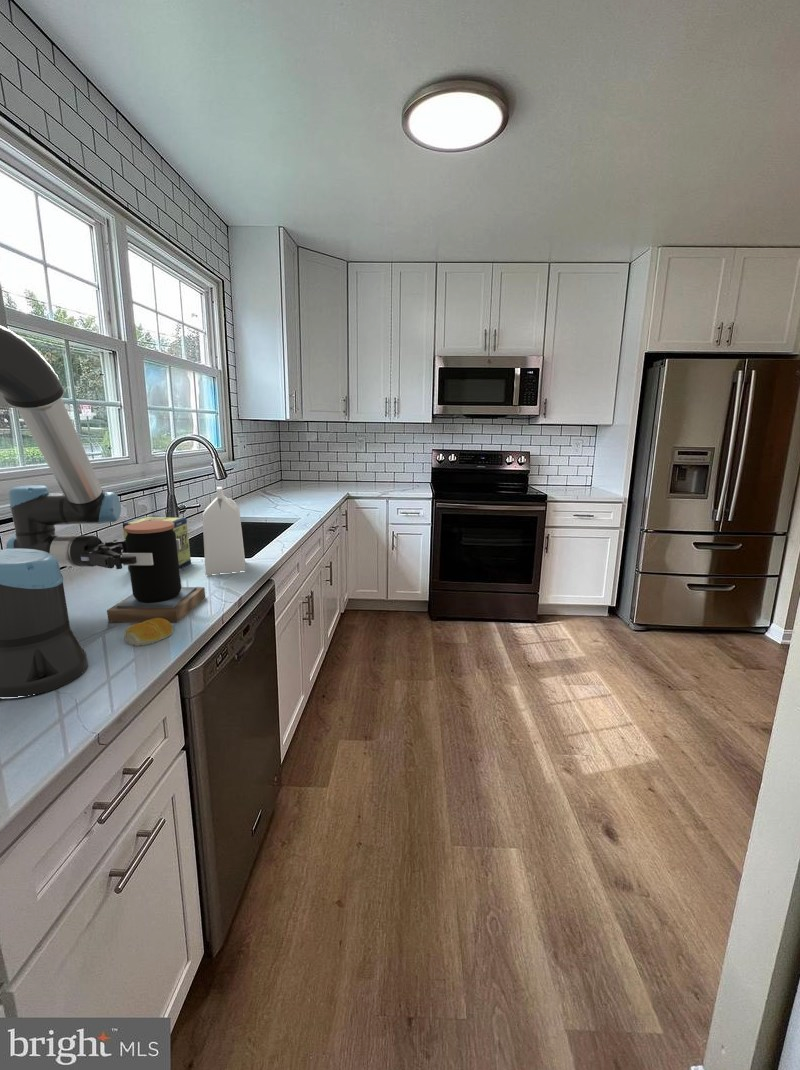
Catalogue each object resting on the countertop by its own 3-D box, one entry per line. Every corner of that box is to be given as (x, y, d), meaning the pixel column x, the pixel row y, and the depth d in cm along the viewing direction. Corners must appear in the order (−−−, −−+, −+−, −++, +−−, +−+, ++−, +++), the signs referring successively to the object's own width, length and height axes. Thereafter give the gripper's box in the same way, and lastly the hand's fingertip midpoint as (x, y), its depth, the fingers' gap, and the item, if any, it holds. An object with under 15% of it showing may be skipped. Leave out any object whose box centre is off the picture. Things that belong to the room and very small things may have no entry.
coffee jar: (190, 589, 120) (183, 521, 116) (165, 605, 109) (157, 530, 105) (151, 587, 121) (143, 519, 117) (123, 602, 111) (113, 529, 106)
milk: (208, 565, 153) (200, 486, 147) (245, 562, 156) (239, 484, 150) (205, 576, 142) (197, 491, 136) (245, 572, 145) (238, 489, 139)
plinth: (177, 622, 108) (175, 608, 107) (108, 622, 108) (106, 608, 107) (205, 597, 124) (204, 585, 123) (145, 597, 124) (143, 585, 123)
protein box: (175, 572, 145) (169, 523, 141) (127, 571, 146) (120, 523, 142) (192, 563, 155) (187, 517, 151) (147, 562, 156) (141, 516, 153)
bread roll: (180, 633, 103) (178, 616, 102) (142, 650, 96) (140, 632, 95) (156, 625, 107) (154, 609, 106) (118, 641, 99) (115, 624, 98)
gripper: (112, 552, 126) (190, 552, 125) (43, 582, 101) (140, 583, 101) (108, 525, 124) (188, 525, 124) (37, 549, 100) (136, 549, 100)
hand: (166, 551), depth 113 cm, fingers open, 13 cm apart
